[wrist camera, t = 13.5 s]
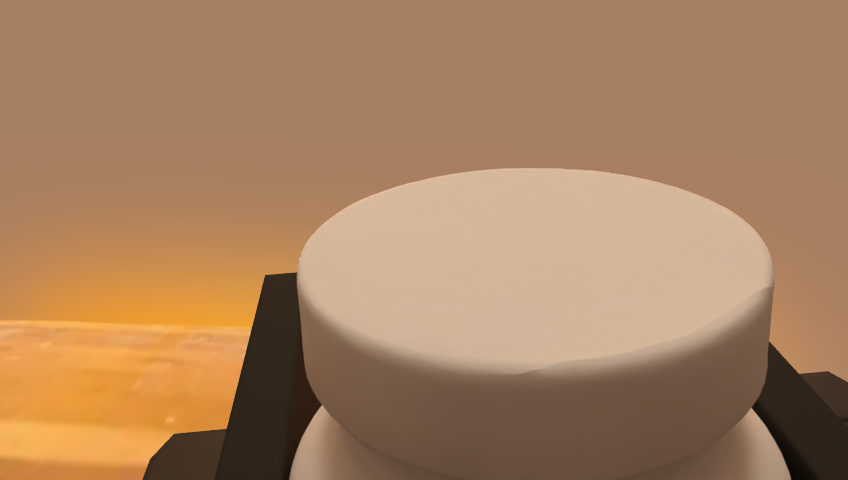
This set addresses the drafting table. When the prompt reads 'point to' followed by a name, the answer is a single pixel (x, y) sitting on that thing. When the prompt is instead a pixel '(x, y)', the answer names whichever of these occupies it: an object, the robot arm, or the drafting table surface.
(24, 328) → the drafting table surface
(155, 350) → the drafting table surface
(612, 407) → the pill bottle
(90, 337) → the drafting table surface
